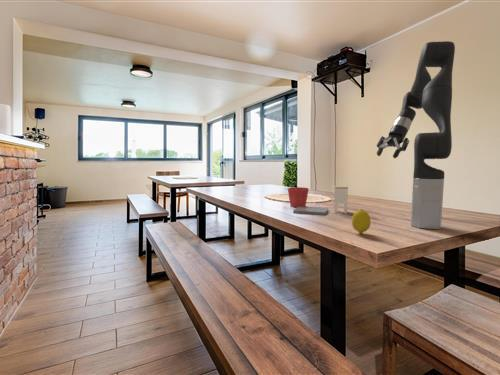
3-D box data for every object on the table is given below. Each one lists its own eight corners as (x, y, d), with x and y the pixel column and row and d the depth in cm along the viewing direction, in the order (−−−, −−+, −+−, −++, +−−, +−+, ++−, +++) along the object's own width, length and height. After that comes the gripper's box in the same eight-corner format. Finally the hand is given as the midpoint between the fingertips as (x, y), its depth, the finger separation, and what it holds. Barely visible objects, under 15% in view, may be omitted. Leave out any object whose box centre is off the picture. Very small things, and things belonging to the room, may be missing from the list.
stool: (346, 213, 125) (347, 186, 124) (334, 212, 127) (334, 186, 126) (347, 211, 130) (347, 186, 129) (334, 210, 132) (335, 185, 131)
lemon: (348, 231, 91) (349, 207, 90) (364, 231, 91) (365, 207, 91) (356, 236, 85) (357, 210, 85) (373, 235, 86) (374, 210, 85)
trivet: (324, 215, 120) (325, 212, 120) (293, 213, 125) (293, 210, 125) (327, 210, 133) (327, 207, 133) (299, 208, 138) (299, 206, 138)
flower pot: (284, 205, 149) (284, 187, 148) (302, 204, 152) (302, 186, 152) (293, 208, 139) (293, 189, 138) (312, 207, 142) (312, 188, 141)
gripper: (383, 123, 142) (369, 151, 140) (411, 124, 130) (396, 154, 128) (390, 131, 146) (376, 158, 144) (417, 133, 134) (403, 162, 133)
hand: (386, 156), depth 136 cm, fingers open, 8 cm apart
